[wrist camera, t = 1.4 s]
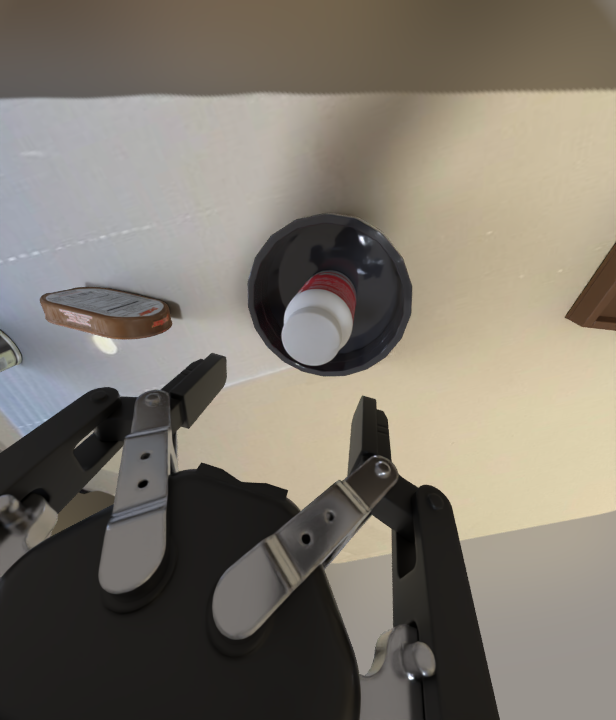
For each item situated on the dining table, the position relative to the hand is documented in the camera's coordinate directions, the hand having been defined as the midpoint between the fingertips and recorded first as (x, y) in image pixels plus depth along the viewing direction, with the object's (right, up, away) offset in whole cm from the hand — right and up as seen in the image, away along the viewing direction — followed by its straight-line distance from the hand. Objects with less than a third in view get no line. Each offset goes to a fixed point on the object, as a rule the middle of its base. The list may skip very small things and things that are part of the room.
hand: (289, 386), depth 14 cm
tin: (-23, +10, +20) cm, 33 cm away
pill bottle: (+4, +9, +14) cm, 17 cm away
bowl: (+4, +9, +14) cm, 17 cm away
